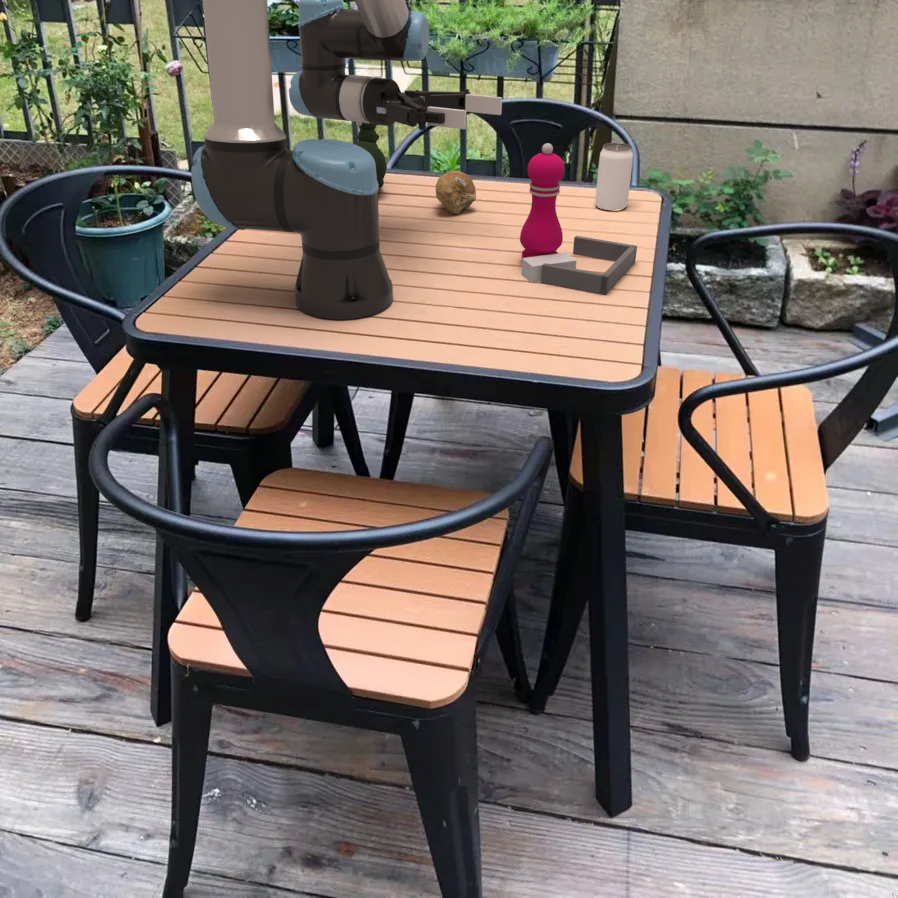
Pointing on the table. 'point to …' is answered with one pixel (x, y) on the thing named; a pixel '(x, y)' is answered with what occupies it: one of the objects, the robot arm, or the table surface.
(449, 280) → the table surface
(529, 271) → the white block
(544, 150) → the pepper mill
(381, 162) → the toy figurine
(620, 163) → the can
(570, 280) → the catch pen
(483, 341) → the table surface
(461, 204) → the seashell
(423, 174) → the table surface
